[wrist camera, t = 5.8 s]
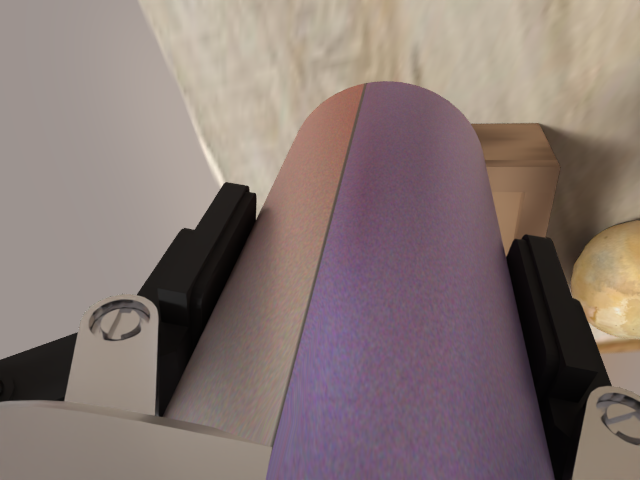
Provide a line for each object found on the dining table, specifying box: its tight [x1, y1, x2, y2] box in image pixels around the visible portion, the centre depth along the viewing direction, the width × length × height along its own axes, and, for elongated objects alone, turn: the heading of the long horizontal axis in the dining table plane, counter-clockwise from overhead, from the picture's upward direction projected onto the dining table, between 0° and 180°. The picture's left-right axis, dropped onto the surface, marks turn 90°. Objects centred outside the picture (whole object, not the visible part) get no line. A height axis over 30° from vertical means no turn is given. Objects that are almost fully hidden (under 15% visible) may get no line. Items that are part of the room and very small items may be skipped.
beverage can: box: [163, 81, 555, 480], centre depth 11 cm, size 6×6×15 cm
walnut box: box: [471, 123, 561, 256], centre depth 33 cm, size 11×11×6 cm
